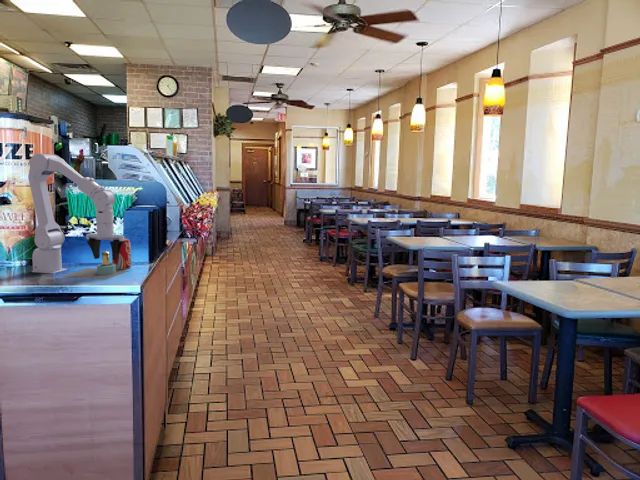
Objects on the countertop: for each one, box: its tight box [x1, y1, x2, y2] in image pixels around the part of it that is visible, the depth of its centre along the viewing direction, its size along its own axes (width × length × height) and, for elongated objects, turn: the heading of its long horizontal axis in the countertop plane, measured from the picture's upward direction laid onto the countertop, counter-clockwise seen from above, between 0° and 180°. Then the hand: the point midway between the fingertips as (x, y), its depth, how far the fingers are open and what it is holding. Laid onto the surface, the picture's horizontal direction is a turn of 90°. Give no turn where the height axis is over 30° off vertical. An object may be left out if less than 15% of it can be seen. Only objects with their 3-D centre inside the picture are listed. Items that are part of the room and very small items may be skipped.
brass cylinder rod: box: [101, 250, 111, 266], centre depth 189 cm, size 2×2×8 cm
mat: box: [60, 267, 130, 280], centre depth 188 cm, size 18×16×1 cm
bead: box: [96, 263, 117, 275], centre depth 189 cm, size 6×6×3 cm
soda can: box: [111, 237, 132, 270], centre depth 198 cm, size 7×7×12 cm
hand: (106, 259), depth 189 cm, fingers open, 7 cm apart
